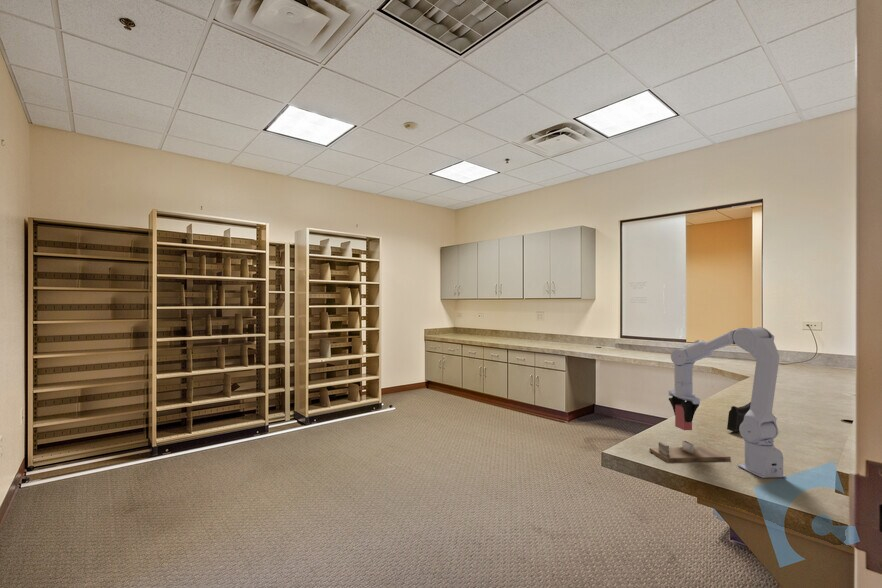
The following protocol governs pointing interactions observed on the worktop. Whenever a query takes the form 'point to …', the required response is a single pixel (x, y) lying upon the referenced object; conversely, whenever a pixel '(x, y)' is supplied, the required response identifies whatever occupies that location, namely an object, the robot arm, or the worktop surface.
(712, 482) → the worktop surface
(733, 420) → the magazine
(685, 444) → the sliding bookend
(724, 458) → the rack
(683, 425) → the book
